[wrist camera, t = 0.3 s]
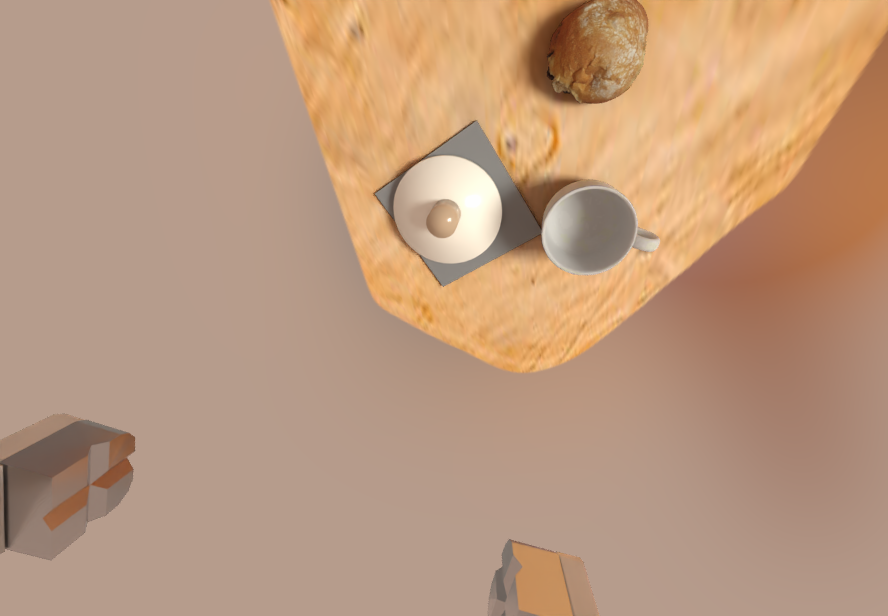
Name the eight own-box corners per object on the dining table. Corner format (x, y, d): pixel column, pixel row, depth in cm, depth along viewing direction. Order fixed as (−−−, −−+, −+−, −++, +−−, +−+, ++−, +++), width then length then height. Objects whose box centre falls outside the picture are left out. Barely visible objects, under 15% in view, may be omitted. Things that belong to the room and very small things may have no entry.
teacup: (526, 231, 58) (526, 255, 51) (565, 156, 52) (570, 171, 45) (616, 270, 58) (628, 298, 52) (665, 200, 52) (685, 221, 46)
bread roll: (620, 93, 50) (667, 91, 43) (543, 114, 49) (579, 115, 42) (619, -6, 46) (672, -26, 39) (534, 14, 44) (573, -3, 37)
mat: (476, 120, 51) (476, 120, 51) (542, 231, 57) (542, 233, 57) (375, 192, 58) (374, 193, 58) (443, 285, 64) (443, 286, 64)
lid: (462, 130, 52) (456, 137, 48) (522, 228, 57) (522, 242, 53) (374, 193, 58) (362, 205, 54) (435, 276, 63) (428, 293, 59)
